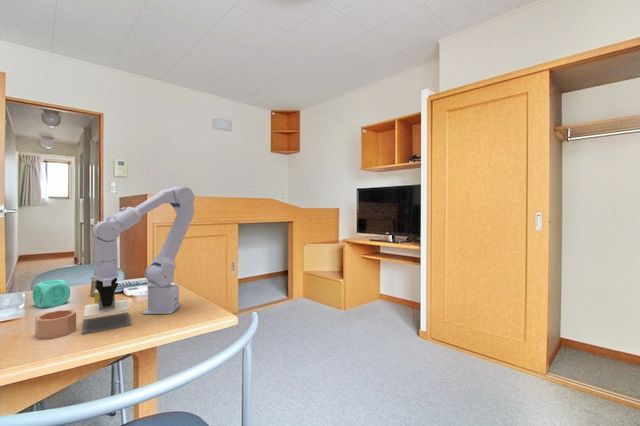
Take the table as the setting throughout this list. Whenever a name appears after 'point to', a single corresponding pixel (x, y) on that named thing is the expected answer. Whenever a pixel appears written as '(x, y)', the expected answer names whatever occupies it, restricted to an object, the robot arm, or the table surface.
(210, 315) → the table surface
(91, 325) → the mat
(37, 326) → the bowl
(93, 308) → the lid
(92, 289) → the figurine
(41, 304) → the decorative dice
